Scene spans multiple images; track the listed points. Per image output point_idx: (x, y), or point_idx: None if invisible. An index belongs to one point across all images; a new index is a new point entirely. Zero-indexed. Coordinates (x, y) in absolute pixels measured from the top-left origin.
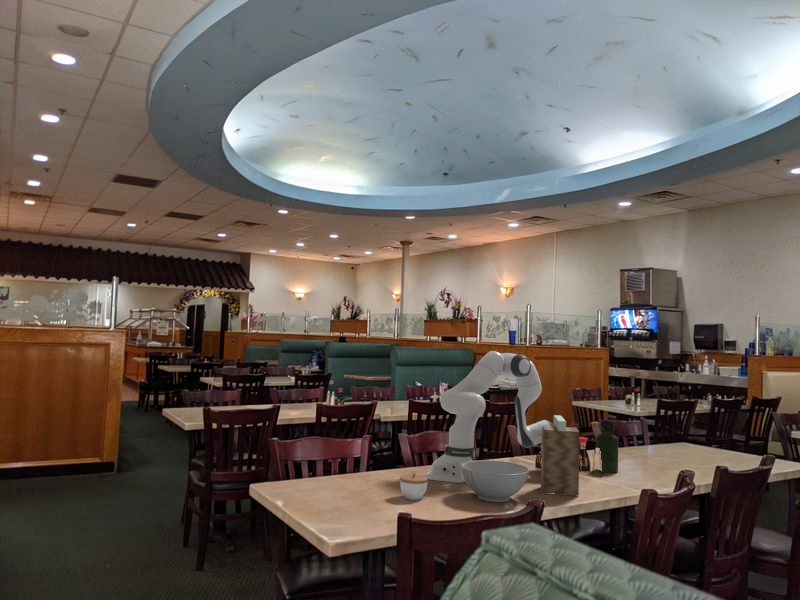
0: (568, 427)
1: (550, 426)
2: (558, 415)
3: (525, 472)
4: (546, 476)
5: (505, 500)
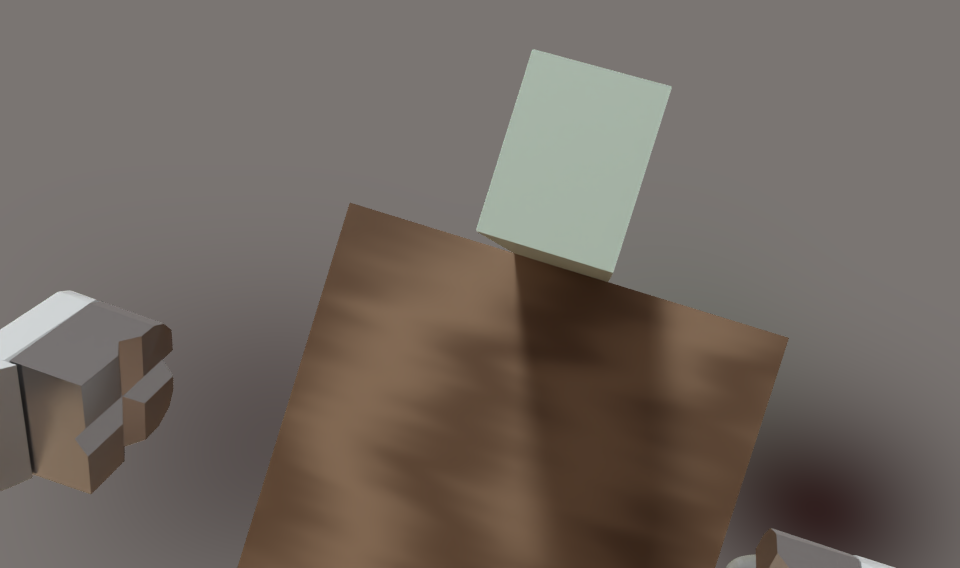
0: (442, 231)
1: (673, 303)
2: (579, 68)
3: (740, 557)
4: None
5: None
